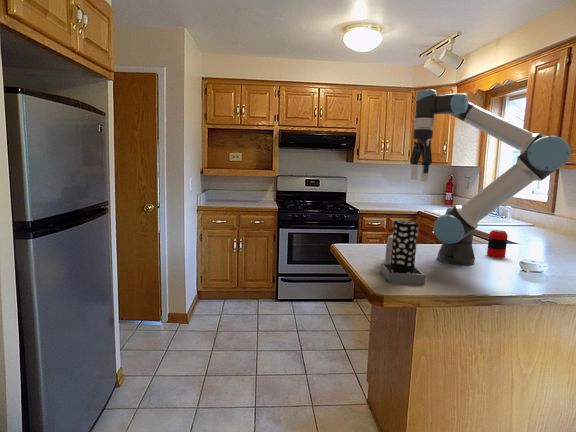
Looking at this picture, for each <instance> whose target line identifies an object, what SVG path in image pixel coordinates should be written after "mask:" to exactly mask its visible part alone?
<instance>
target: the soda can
mask: <svg viewBox="0 0 576 432" xmlns="http://www.w3.org/2000/svg"><path fill="white" fill-rule="evenodd" d="M508 236H509V235H508V233H507V232H506V231H505V230H500V229H499V230H498V229H492V230H490V232H489V235H488V242H487V251H486V255H487V256H489V257H491V258H496V259H497V258H498V259H503V258H505V257H506V252H507V244H508Z"/></svg>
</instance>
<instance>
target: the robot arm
mask: <svg viewBox="0 0 576 432" xmlns="http://www.w3.org/2000/svg"><path fill="white" fill-rule="evenodd" d="M435 115H450V116H452V117H454V118H457V119H458V120H459V121H462V122H464V123H466V124H468V125H470V126H472V127H474V128H476V129H478V130H479V131H481V132H483V133H486V134H487V135H489V136H491V137H493V138H495V139H497V140H499V141H500V142H502V143H505V144H506V145H508V146H510V147H512V148H514V149H516V150H518V151H520V152H521V154H519V155H518V156H517V157H516V163H514V165H512V166H511V167H510V168H508V169H507V170H506V171H504V172H503V173H501V175H500V176H498V177H497V178H496V179H494V180H493V181H492V182H491V183H489V184H488V185H487V186H486V187H484V188H483V189H481V190H480V191H479V192H478V193H476V194H475V195H474V196H472V197H471V198H470V199H469V200H467V201H466V202H465V203H464V204H456V205H455V206H453V207H447V209H446V211H445V214H443V215H441V216H439V217H438V218H436V220H435V222H434V224H433V233H434V236H435V237H436V238H437V239H438V240H439V241H440V242H442V244H441V245H440V248H439V250H438V253H437V260H439V261H440V262H443V263H447V264H452V265H457V266H458V265H460V266H469V265H470V266H471V265H474V264H475V262H476V256H475V253H474V249H473V238H474V231H475V230H476V229H477V228H478V226H479V222H480V221H481V220H483V219H484V218H486V217H487V216H488V215H490V214H491V213H492V212H494V211H495V210H496V209H497V208H499V207H500V206H502V205H504V204H505V203H506V202H507V201H509V200H510V199H512V198H513V197H514V196H515V195H516V194H518V193H520V192H521V191H522V190H524V189H526V188H527V187H528V186H529V185H530V184H531V183H533V182H535V181H538V182H539V181H540V182H541V181H544V179H546V178H547V177H549V176H550V175H551V174H553V173H554V172H556V171H557V170H558V169H560V168H562V167H563V166H565V165H566V164H567V163H568V161H569V160H570V157H571V153H572V151H571V146H570V144H569V143H568V142H567V140H565V139H564V138H562V137H560V136H558V135H544V134H542V133H540V132H537V133H533V132H532V131H529V130H527V129H525V128H523V127H521V126H519V125H516V124H515V123H512V122H510V121H508V120H507V119H505V118H503V117H501V116H498V115H496V114H494V113H492V112H490V111H488V110H486V109H484V108H481V107H480V106H478V105H475V104H474V103H472V102H470V101H469V96H468V94H467V93H459V92H457V93H449V94H447V93H446V94H437V90H435V89H422V90H419V91H418V92H417V95H416V100H415V113H414V120H413V124H414V126H413V127H414V130H413V134H412V135H413V136H412V138H413V140H416V141H414V142H413V149H412V152H411V157H410V161H409V163H410V164H411V167H410V168H411V169H410V180H415V181H416V180H418V175H419V174H418V172H419V165H420V163H419V162H420V159H421V160H422V161H421V172H420V182H427V183H428V181H429V173H430V165H431V164H432V163H433V158H432V147H431V146H432V141H431V140H432V139H433V135H434V133H433V132H434V131H433V129H434V123H435Z"/></svg>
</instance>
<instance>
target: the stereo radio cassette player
mask: <svg viewBox="0 0 576 432" xmlns="http://www.w3.org/2000/svg"><path fill="white" fill-rule="evenodd" d="M418 236H419V232H418V233H417V237H418ZM392 242H393V233H392V234H390V235H389V236H387V240H386V246H385V258H384V259H385V260H384V261H385V262H384V264H391V255H392Z"/></svg>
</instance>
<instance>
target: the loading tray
mask: <svg viewBox="0 0 576 432" xmlns="http://www.w3.org/2000/svg"><path fill="white" fill-rule="evenodd" d="M390 267H391V264H385V263H380V271H379V272H380V274H381V275H382V276H383V278H384V279H385V280H386V282H387V284H404V285H405V284H406V285H407V284H409V285H425V280H426V279H425V278H426V274H425V273H424V272H422V270H421V269H419V268H418V267H417V266H416V265H415V266H414V274H409V273H391V272H390Z"/></svg>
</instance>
